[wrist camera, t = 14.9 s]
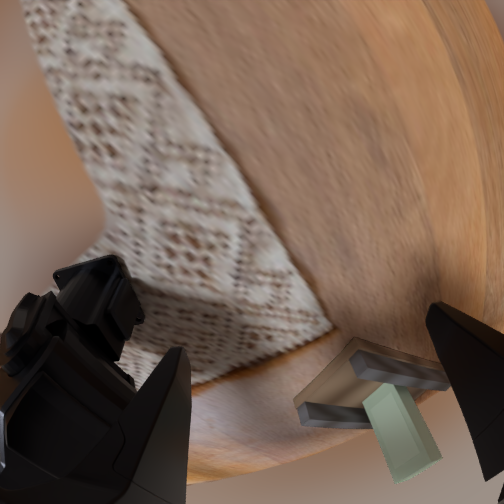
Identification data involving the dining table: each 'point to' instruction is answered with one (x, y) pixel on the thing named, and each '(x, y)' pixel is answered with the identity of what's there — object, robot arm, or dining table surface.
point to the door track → (363, 384)
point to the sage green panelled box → (401, 432)
